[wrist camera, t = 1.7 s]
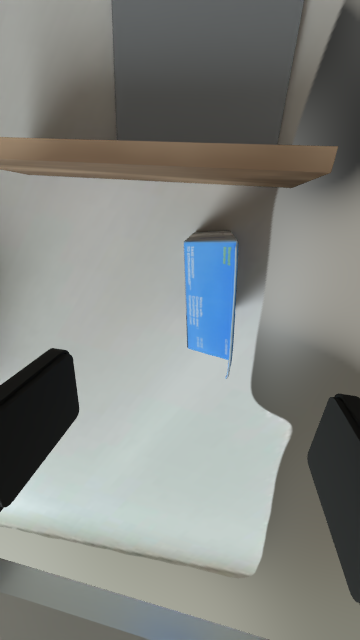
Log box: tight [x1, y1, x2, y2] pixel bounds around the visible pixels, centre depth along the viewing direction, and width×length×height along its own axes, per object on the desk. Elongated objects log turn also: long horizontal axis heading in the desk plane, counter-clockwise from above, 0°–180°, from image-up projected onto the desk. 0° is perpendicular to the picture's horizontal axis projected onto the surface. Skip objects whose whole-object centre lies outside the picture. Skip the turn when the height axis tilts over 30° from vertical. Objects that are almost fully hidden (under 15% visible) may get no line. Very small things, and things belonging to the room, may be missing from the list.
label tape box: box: [184, 231, 238, 379], centre depth 20 cm, size 9×4×12 cm, turn 3°
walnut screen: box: [0, 137, 338, 188], centre depth 19 cm, size 1×26×9 cm, turn 87°
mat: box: [112, 0, 304, 145], centre depth 19 cm, size 14×14×1 cm
